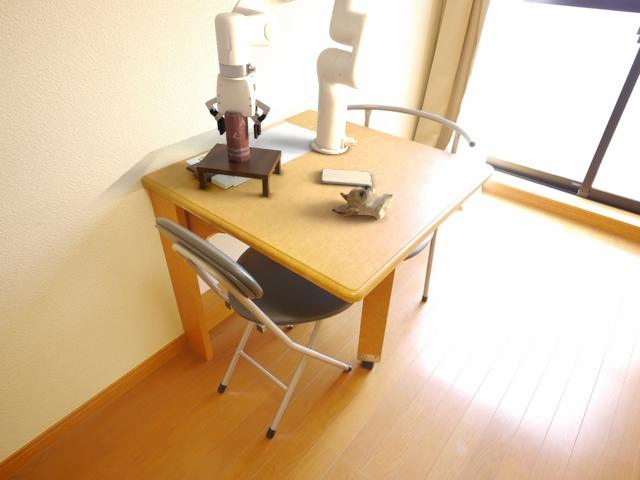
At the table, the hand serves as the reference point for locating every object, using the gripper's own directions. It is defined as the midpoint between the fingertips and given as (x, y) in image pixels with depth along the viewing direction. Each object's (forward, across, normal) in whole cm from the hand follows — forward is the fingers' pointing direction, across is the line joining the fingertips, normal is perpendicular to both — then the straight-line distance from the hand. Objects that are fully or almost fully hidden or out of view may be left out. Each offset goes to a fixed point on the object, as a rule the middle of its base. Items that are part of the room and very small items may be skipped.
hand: (239, 135), depth 111 cm
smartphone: (+14, -30, -8) cm, 34 cm away
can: (+7, +1, 0) cm, 7 cm away
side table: (+14, 0, 0) cm, 14 cm away
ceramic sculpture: (+14, -36, +10) cm, 40 cm away
